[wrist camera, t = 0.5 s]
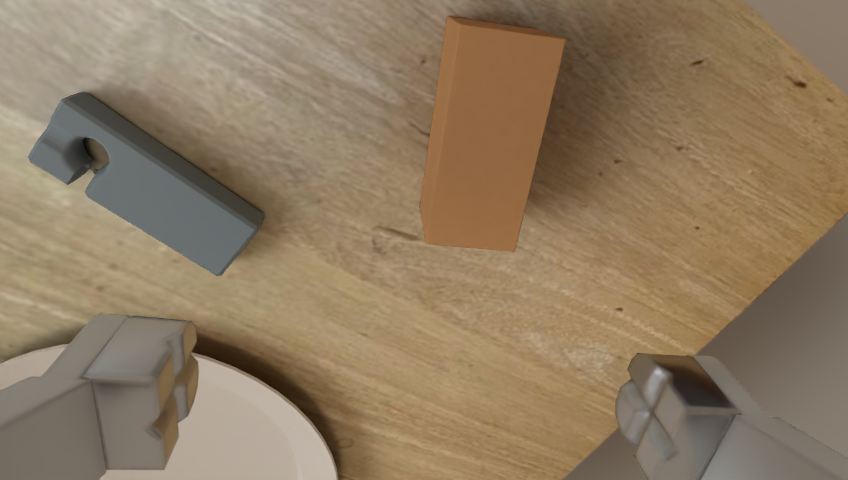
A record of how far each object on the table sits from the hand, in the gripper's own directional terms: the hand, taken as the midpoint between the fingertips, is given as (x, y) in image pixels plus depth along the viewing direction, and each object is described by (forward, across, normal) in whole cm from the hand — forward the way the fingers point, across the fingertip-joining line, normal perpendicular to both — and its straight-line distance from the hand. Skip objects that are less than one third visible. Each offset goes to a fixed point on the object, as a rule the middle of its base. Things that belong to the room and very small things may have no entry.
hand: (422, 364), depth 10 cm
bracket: (+20, +12, +5) cm, 23 cm away
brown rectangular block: (+19, -4, 0) cm, 20 cm away
